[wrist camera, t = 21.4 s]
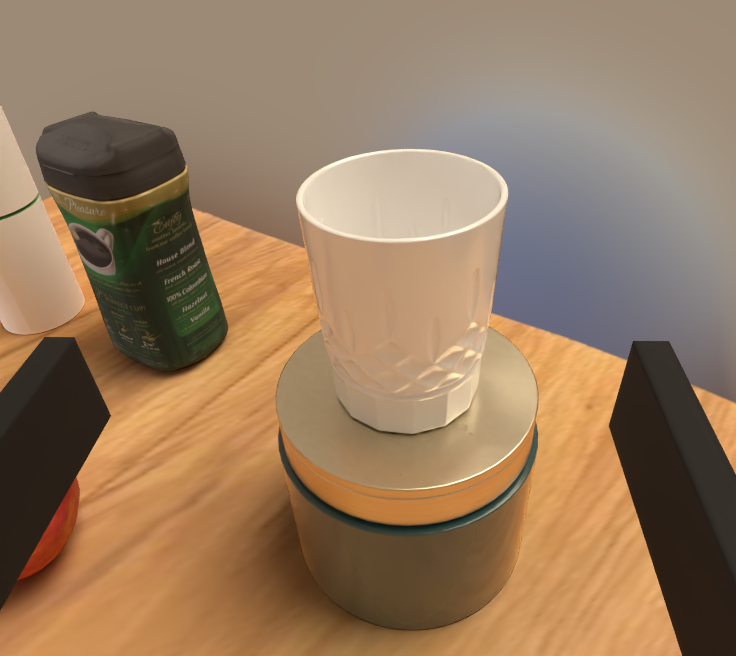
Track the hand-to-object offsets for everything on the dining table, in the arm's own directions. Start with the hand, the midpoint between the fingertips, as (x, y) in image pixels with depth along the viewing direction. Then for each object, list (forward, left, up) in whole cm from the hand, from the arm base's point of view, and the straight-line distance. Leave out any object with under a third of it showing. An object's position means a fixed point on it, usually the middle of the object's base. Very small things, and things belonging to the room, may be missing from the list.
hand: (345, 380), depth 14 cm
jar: (-7, +7, -21) cm, 23 cm away
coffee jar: (-33, +2, -21) cm, 40 cm away
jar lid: (-7, +7, -10) cm, 15 cm away
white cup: (-7, +7, -10) cm, 14 cm away
